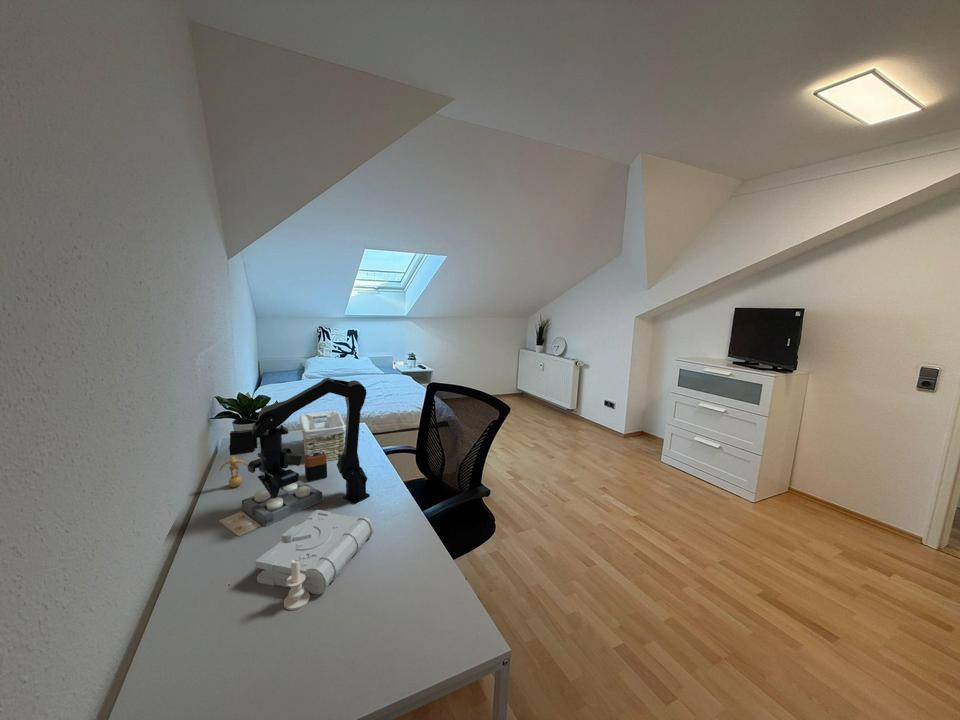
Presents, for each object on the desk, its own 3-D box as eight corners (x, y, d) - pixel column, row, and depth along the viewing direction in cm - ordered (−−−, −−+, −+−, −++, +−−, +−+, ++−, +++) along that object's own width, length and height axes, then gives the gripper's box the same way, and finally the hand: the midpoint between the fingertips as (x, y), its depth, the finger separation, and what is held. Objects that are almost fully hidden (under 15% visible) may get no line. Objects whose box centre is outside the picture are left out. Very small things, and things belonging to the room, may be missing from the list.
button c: (286, 506, 117) (285, 500, 117) (271, 512, 114) (271, 506, 113) (278, 501, 120) (278, 496, 119) (264, 508, 116) (263, 501, 116)
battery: (327, 477, 142) (326, 452, 140) (308, 482, 138) (306, 456, 136) (324, 473, 145) (323, 448, 144) (305, 477, 141) (303, 452, 139)
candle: (303, 588, 88) (300, 547, 87) (314, 600, 85) (312, 558, 83) (279, 601, 84) (276, 559, 83) (290, 614, 81) (287, 570, 79)
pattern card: (260, 526, 111) (260, 524, 111) (238, 536, 106) (238, 535, 106) (241, 512, 118) (241, 511, 118) (219, 521, 113) (219, 520, 113)
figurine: (250, 481, 137) (247, 449, 135) (249, 489, 132) (246, 456, 130) (222, 486, 133) (219, 453, 131) (220, 494, 128) (217, 460, 126)
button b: (300, 491, 129) (300, 485, 129) (287, 496, 125) (287, 490, 125) (293, 487, 131) (292, 481, 131) (280, 492, 128) (280, 486, 127)
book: (383, 528, 113) (382, 504, 111) (324, 600, 86) (322, 569, 84) (325, 519, 117) (324, 496, 116) (252, 585, 90) (249, 555, 89)
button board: (322, 500, 126) (322, 492, 125) (266, 526, 111) (266, 516, 111) (297, 486, 134) (296, 479, 134) (242, 509, 120) (241, 500, 119)
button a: (313, 494, 125) (312, 488, 124) (300, 500, 121) (299, 494, 121) (305, 490, 127) (305, 484, 127) (292, 495, 123) (292, 490, 123)
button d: (273, 498, 121) (272, 492, 121) (258, 504, 118) (258, 498, 117) (266, 494, 124) (265, 488, 123) (251, 500, 120) (251, 494, 120)
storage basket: (347, 459, 158) (346, 425, 156) (304, 466, 150) (302, 431, 148) (338, 440, 179) (337, 409, 176) (300, 445, 171) (299, 413, 169)
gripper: (314, 448, 115) (316, 496, 118) (281, 434, 125) (284, 479, 128) (277, 460, 106) (280, 512, 108) (245, 444, 116) (248, 492, 119)
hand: (274, 497), depth 116 cm, fingers closed
